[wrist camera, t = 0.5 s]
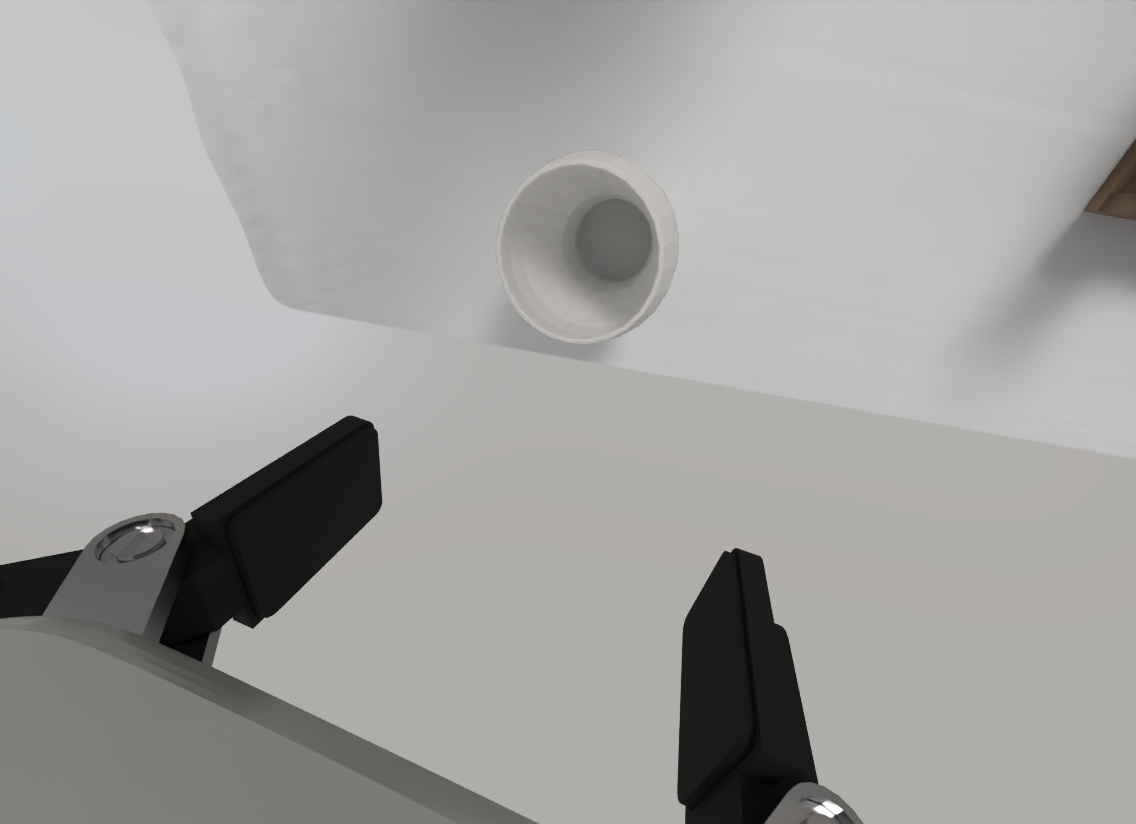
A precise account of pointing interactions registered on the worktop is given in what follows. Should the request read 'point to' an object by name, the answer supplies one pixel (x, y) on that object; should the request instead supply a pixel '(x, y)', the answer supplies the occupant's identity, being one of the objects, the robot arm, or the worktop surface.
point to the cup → (587, 247)
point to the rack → (1118, 190)
